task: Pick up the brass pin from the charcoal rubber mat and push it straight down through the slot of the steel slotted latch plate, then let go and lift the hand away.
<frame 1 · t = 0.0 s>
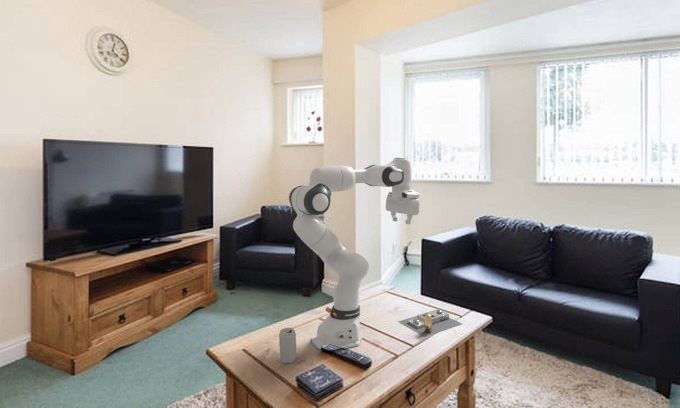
hand: (401, 222, 168), 48 cm above the table, tool pointing down, fingers open, 8 cm apart
brass pin: (428, 331, 161), point 1 cm above the table, touching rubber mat
beverage can: (288, 360, 141), on the table
slotted latch plate: (428, 321, 172), resting on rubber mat
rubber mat: (429, 324, 170), on the table
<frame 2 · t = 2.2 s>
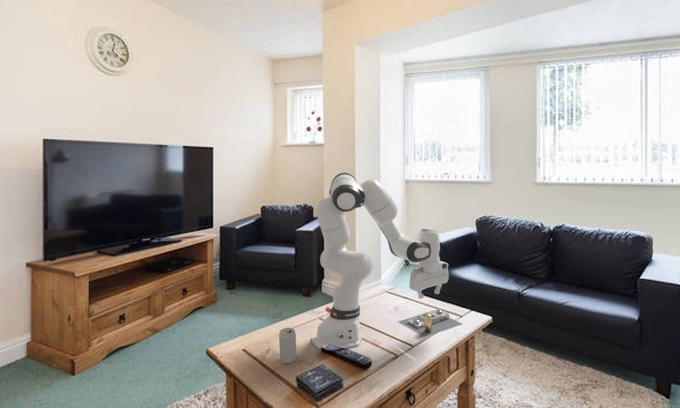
hand: (429, 295, 159), 17 cm above the table, tool pointing down, fingers open, 8 cm apart
nothing on the table moved.
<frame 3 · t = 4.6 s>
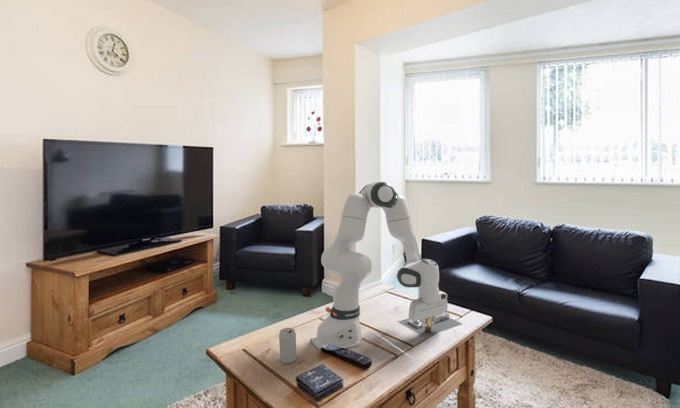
hand: (428, 325, 161), 3 cm above the table, tool pointing down, fingers closed on brass pin, 3 cm apart
brass pin: (428, 331, 161), point 1 cm above the table, touching gripper, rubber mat
everything else where it was.
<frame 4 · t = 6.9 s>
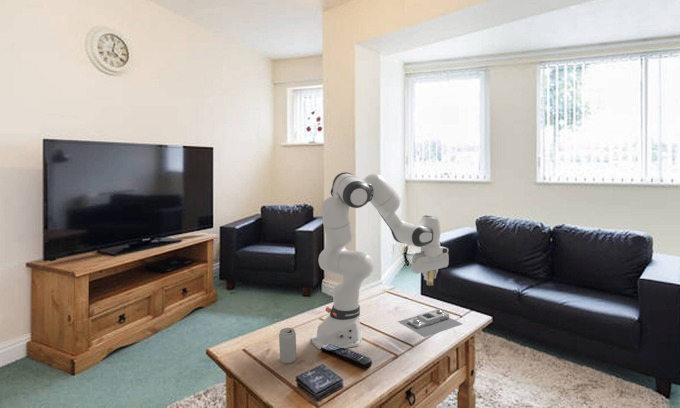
hand: (430, 279, 168), 22 cm above the table, tool pointing down, fingers closed on brass pin, 3 cm apart
brass pin: (429, 284, 168), point 19 cm above the table, touching gripper
everything else where it was.
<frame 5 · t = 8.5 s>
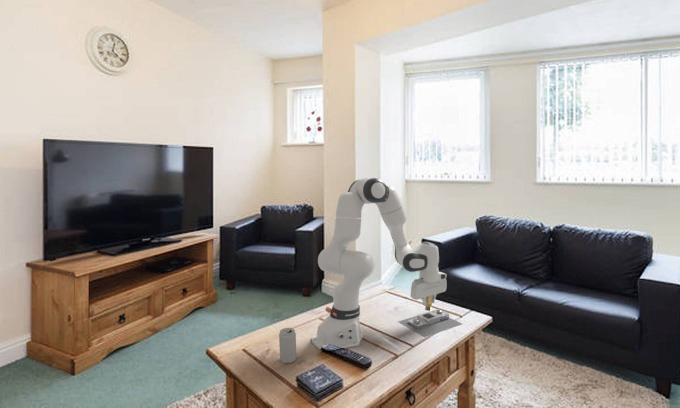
hand: (428, 304, 172), 9 cm above the table, tool pointing down, fingers closed on brass pin, 3 cm apart
brass pin: (428, 309, 172), point 6 cm above the table, touching gripper
everything else where it was.
when the fingers open (4 cm above the table, at t = 9.7 s): brass pin stays where it is, resting on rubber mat.
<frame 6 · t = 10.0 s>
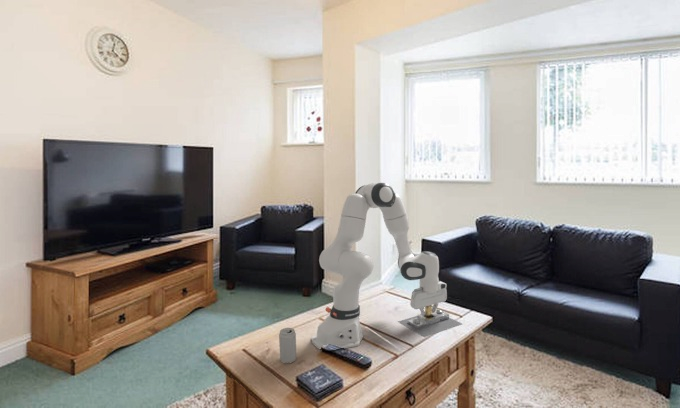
hand: (428, 313, 172), 4 cm above the table, tool pointing down, fingers open, 5 cm apart
brass pin: (428, 320, 172), point 1 cm above the table, touching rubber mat
everything else where it was.
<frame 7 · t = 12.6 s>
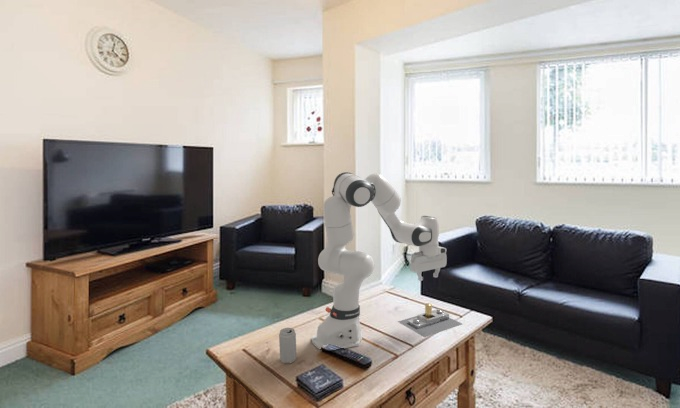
hand: (428, 278, 170), 21 cm above the table, tool pointing down, fingers open, 8 cm apart
nothing on the table moved.
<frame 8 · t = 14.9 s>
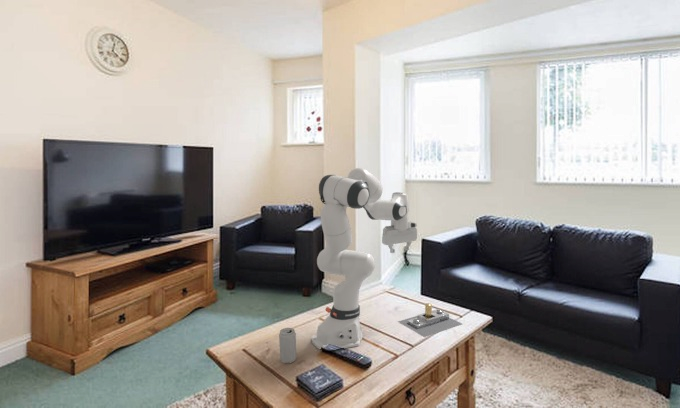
hand: (399, 251, 182), 31 cm above the table, tool pointing down, fingers open, 8 cm apart
nothing on the table moved.
at the end: brass pin 0.1 cm off-centre on the slotted latch plate, point 0.6 cm above the slotted latch plate's base; brass pin tilted 0°; the gripper is holding nothing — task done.
